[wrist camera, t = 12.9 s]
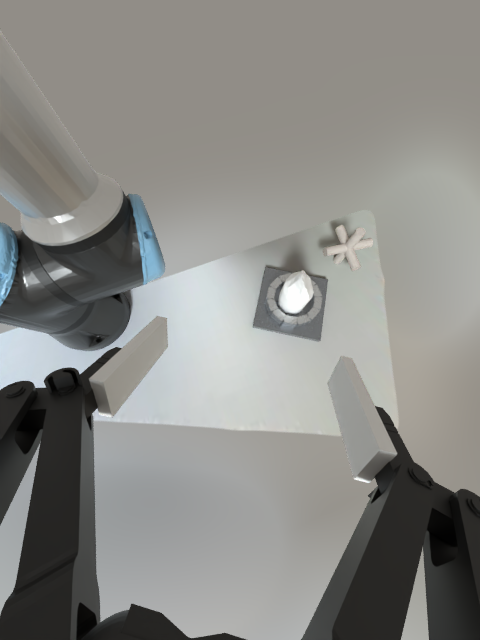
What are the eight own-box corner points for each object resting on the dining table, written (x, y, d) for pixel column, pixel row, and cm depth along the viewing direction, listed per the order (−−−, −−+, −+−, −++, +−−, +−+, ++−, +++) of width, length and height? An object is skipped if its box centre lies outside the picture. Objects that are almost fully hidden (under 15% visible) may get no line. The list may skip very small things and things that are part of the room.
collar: (252, 327, 45) (253, 323, 41) (265, 269, 48) (266, 261, 45) (318, 341, 44) (325, 338, 40) (325, 281, 47) (332, 273, 44)
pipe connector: (310, 246, 50) (326, 215, 40) (349, 238, 50) (375, 205, 41) (323, 284, 47) (344, 260, 38) (365, 275, 48) (396, 249, 38)
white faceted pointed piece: (329, 289, 33) (295, 296, 32) (306, 312, 44) (281, 318, 44) (317, 256, 34) (284, 263, 34) (298, 287, 46) (273, 292, 46)
